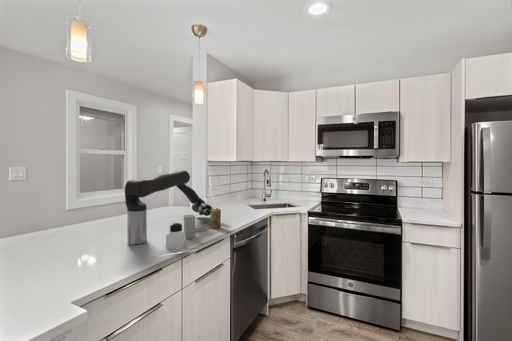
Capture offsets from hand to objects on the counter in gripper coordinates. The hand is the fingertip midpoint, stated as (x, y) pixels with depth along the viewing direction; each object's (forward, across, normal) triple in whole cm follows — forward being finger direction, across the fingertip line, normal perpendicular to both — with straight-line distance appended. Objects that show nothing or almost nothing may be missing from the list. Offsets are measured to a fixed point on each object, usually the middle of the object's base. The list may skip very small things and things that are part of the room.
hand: (213, 213), depth 168 cm
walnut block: (+5, 0, +9) cm, 10 cm away
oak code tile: (+17, -20, +8) cm, 28 cm away
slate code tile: (+5, -11, +9) cm, 15 cm away
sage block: (+17, -20, +8) cm, 27 cm away
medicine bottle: (+29, -30, +9) cm, 43 cm away
